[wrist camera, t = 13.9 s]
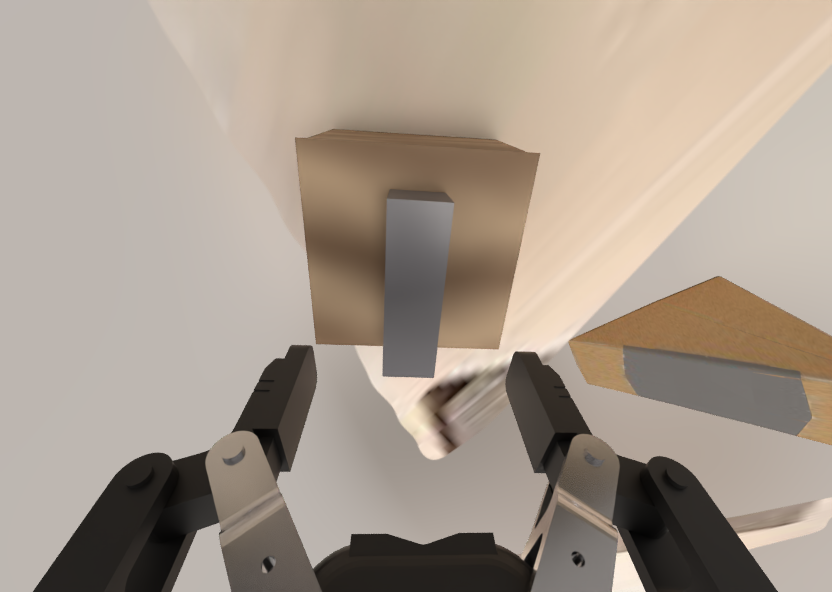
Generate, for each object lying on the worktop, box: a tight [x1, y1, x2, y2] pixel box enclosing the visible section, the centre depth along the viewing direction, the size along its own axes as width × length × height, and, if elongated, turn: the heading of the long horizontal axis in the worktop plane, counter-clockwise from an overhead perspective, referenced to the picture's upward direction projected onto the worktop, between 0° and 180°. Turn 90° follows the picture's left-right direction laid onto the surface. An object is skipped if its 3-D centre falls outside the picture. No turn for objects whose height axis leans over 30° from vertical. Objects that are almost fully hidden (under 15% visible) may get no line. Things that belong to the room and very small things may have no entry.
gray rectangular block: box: [383, 189, 454, 378], centre depth 17 cm, size 10×3×3 cm, turn 176°
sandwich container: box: [568, 276, 832, 445], centre depth 27 cm, size 9×15×15 cm, turn 122°
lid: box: [295, 138, 540, 349], centre depth 19 cm, size 12×12×1 cm
